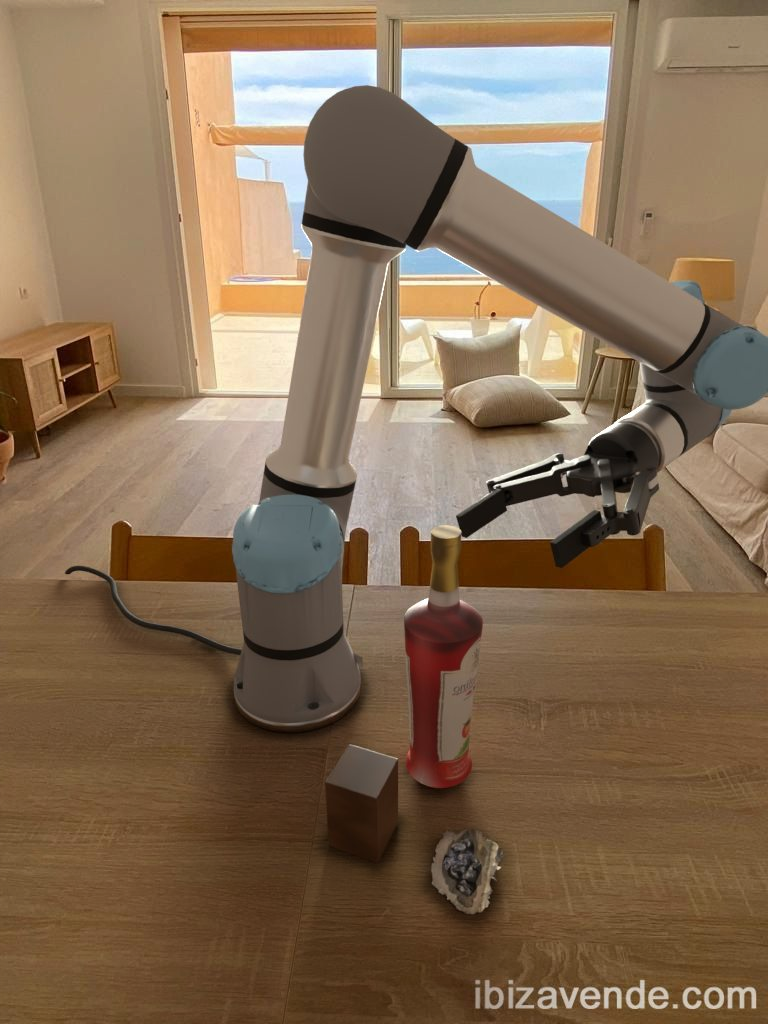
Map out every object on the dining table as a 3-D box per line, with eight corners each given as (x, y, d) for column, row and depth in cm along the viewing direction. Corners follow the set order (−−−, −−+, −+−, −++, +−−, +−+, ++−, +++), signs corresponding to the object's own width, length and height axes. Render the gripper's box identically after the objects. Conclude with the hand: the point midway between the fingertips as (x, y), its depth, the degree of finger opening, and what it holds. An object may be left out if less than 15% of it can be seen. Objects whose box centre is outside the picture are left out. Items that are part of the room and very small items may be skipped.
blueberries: (498, 834, 65) (499, 819, 65) (515, 914, 58) (516, 898, 57) (427, 835, 65) (427, 821, 64) (434, 916, 58) (435, 901, 57)
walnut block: (328, 845, 64) (324, 781, 61) (351, 805, 69) (348, 743, 65) (378, 864, 63) (376, 798, 59) (398, 821, 67) (398, 758, 63)
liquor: (427, 736, 77) (432, 507, 65) (486, 764, 73) (503, 526, 61) (389, 778, 72) (387, 536, 60) (450, 810, 68) (462, 559, 56)
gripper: (741, 496, 71) (612, 605, 62) (556, 466, 91) (437, 544, 82) (734, 429, 68) (597, 533, 59) (544, 413, 88) (420, 489, 79)
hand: (504, 540), depth 71 cm, fingers open, 13 cm apart
